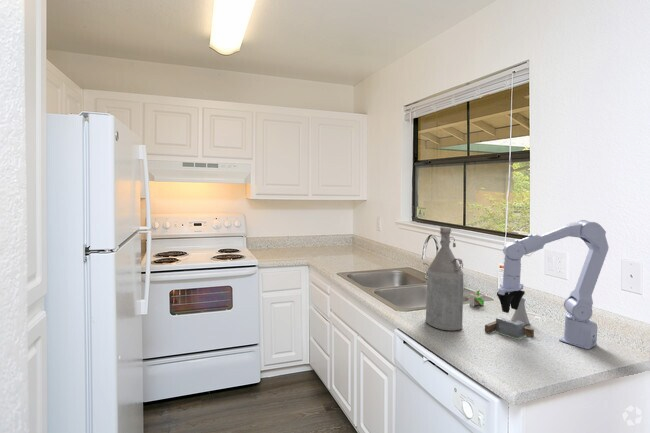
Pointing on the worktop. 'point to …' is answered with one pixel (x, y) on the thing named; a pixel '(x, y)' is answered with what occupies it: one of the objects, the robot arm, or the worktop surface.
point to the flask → (520, 313)
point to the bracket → (510, 327)
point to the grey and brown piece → (492, 327)
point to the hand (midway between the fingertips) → (509, 310)
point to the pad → (511, 336)
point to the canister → (445, 287)
